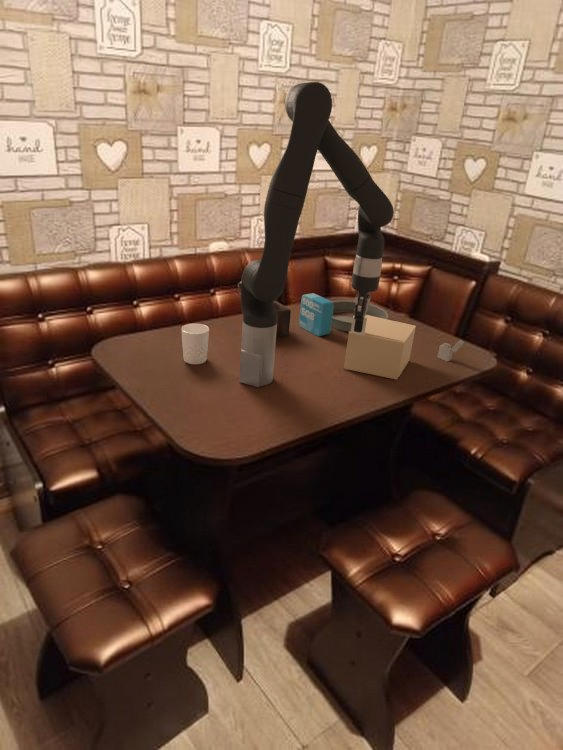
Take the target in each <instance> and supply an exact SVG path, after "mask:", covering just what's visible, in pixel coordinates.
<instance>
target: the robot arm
mask: <svg viewBox="0 0 563 750" xmlns="http://www.w3.org/2000/svg"><path fill="white" fill-rule="evenodd" d="M284 107H285V112H286V115H287V116H288V118H289V120H291V123H292V124H291V129H290V134H289V138H288V142H287V145H286V148H285V150H284V152H283V154H282V156H281V158H280V160H279V161H278V164H277V165H276V167H275V169H274V172H273V174H272V176H271V179H270V182H269V185H268V190H267V193H266V197H265V202H264V206H263V222H264V223H263V224H264V245H263V252H262V254H261V258H260V259H254V260H251V261H250V262H249V263H247V265H246V266H245V267H244V269H243V272H242V274H241V279H240V281H241V290H240V307H241V313H242V330H241V351H240V358H239V359H240V360H239V377H238V379H239V380H238V381H239V383H242V384H246V385H248V386H253V387H255V388H260V387H262V386H267V385H269V384H271V383H272V382H273V379H274V378H273V377H274V367H275V353H276V343H277V338H276V331H277V318H278V314H277V311H276V309H275V306H274V302H273V301H277V300H278V299H279V298H280V297H281V295H283V294H282V293H283V292H284V289H285V287H286V282H287V277H288V271H289V265H290V259H291V252H292V248H293V245H294V241H295V237H296V233H297V229H298V226H299V222H300V218H301V216H302V213H303V209H304V205H305V201H306V197H307V193H308V189H309V184H310V181H311V178H312V173H313V169H314V165H315V161H316V157H317V152H318V153H320V155H321V156H322V158H323V159H324V160H325V162H326V163H327V164H328V166H329V168H330V169H331V171H332V172H333V174H334V175H335V176H336V178H337V180H338V181H339V183H340V184H341V186H342V187H343V188H344V190H345V192H346V193H347V194H348V196H349V197H350V198H351V199H353V200H354V201H355V202H356V203H357V204H358V206H359V207H358V210H357V231H358V241H357V245H356V247H357V249H356V254H355V259H354V263H353V268H352V269H353V271H352V276H351V277H352V278H351V284H350V285H351V288H352V289H353V290H354V291H357V292H356V295H355V297H354V301H355V302H356V303H355V310H354V311H355V313H354V315H353V316H354V319H356V320H355V326H354V331H355V332H361V331H362V326H363V321H364V317H365V316H366V312H367V310H368V306H369V304H370V301H371V297H372V295H371V293H374V292H377V291H378V290H379V286H380V285H379V284H380V279H381V273H382V265H383V255H384V248H385V237H384V235H383V234H382V227H386V226H388V225H389V224H390V223H391V222H392V220H393V218H394V213H395V212H394V206H393V203H392V201H391V200H390V198H389V197H388V196H387V195H386V194H385V193H384V191H383V190H382V189H381V187H379V185H378V184H377V183H376V182H375V180H374V179H373V177H372V175H371V173H370V172H369V170H368V169H367V167H366V165H365V164H364V163H363V161H362V159H361V158H360V157H359V156H358V154H357V153H356V152H355V151H354V150H353V149H352V147H351V146H350V145H349V144H348V143H347V142H346V141H345V140H344V139H343V138H342V136H340V134H339V133H338V132H337V130H336V129H335V128H334V127H333V125H332V122H331V121H330V117H331V115H332V109H333V98H332V94H331V92H330V90H329V88H328V87H327V86H326V85H325V84H324V83H321V82H319V81H307V82H300V83H297V84H296V85H293V86H292V87H291V88H290V89H289V90H288V92H287V94H286V97H285V101H284Z"/></svg>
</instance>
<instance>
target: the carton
mask: <svg viewBox="0 0 563 750" xmlns="http://www.w3.org/2000/svg"><path fill="white" fill-rule="evenodd" d="M365 318H367V323H366V330H365V335H370V336H376V337H381V338H386V339H391V340H396V341H401V342H404V347H403V352H402V357H401V362H400V367H399V372H398V377H400V376H401V375H402V373H403V371H404V369H406V366H407V364H408V363H409V362H408V361H410V358H411V352H412V347H413V342H414V338H415V332H416V328H417V326H416V325H414V324H409V323H404V322H401V321H395V320H392V319H389V318H388V319H383V318H379V317H374V316H370V315H366V316H365ZM398 377H397V380H398V379H399V378H398Z"/></svg>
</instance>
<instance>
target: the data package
mask: <svg viewBox="0 0 563 750" xmlns="http://www.w3.org/2000/svg"><path fill="white" fill-rule="evenodd" d="M299 309H300V311H299V318H298V319H299V320H298V321H299V322H298V323H299V327H300V328H302V329H304V330H306V331H307V332H309V333H310V334H313V335H315V336H316V337H322V336H325V335H330V333H331V329H332V326H331V322H332V314H333V315H334V313H333V303H332V301H331V300H329V299H326V298H325V297H323V296H320V295H318V294H316V293H313V292H312V293H306V294H303V295H302V296H301V301H300V308H299Z"/></svg>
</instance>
